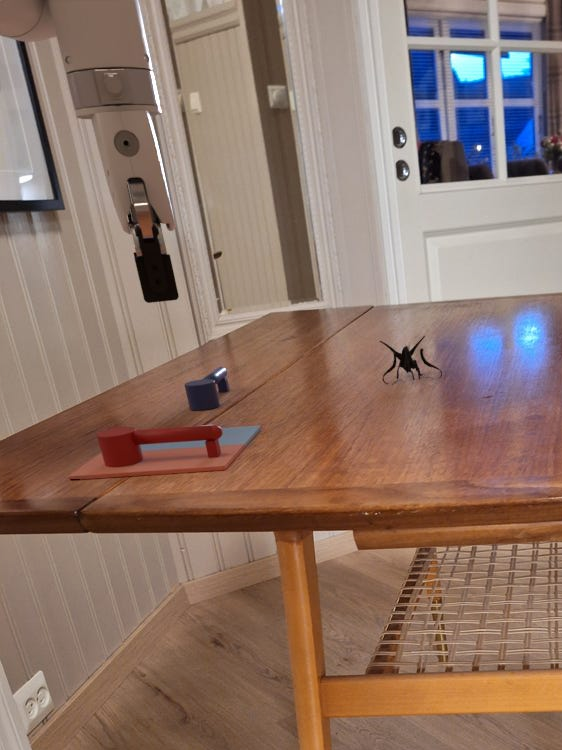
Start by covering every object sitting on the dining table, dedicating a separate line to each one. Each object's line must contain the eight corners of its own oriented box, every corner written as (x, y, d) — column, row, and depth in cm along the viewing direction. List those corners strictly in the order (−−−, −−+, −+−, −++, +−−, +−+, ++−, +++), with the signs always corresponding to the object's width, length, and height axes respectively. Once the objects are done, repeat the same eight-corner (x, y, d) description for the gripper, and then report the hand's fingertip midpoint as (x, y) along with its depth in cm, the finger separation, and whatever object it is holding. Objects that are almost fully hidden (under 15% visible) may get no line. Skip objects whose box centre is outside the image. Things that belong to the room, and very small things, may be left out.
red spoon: (99, 468, 83) (90, 437, 82) (113, 457, 87) (105, 428, 85) (222, 460, 83) (215, 429, 82) (231, 449, 86) (225, 419, 85)
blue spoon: (215, 409, 105) (210, 384, 103) (186, 411, 105) (180, 386, 104) (239, 388, 115) (235, 365, 114) (213, 390, 116) (208, 366, 114)
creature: (447, 389, 111) (432, 364, 117) (446, 348, 108) (431, 325, 113) (387, 396, 110) (375, 371, 115) (384, 355, 106) (372, 331, 112)
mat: (69, 480, 82) (68, 476, 82) (126, 438, 95) (125, 434, 95) (225, 469, 81) (224, 465, 81) (261, 428, 95) (260, 425, 94)
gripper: (161, 85, 73) (205, 300, 81) (155, 104, 88) (193, 285, 96) (66, 89, 71) (121, 309, 79) (76, 108, 86) (121, 293, 94)
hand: (160, 296), depth 87 cm, fingers open, 9 cm apart
